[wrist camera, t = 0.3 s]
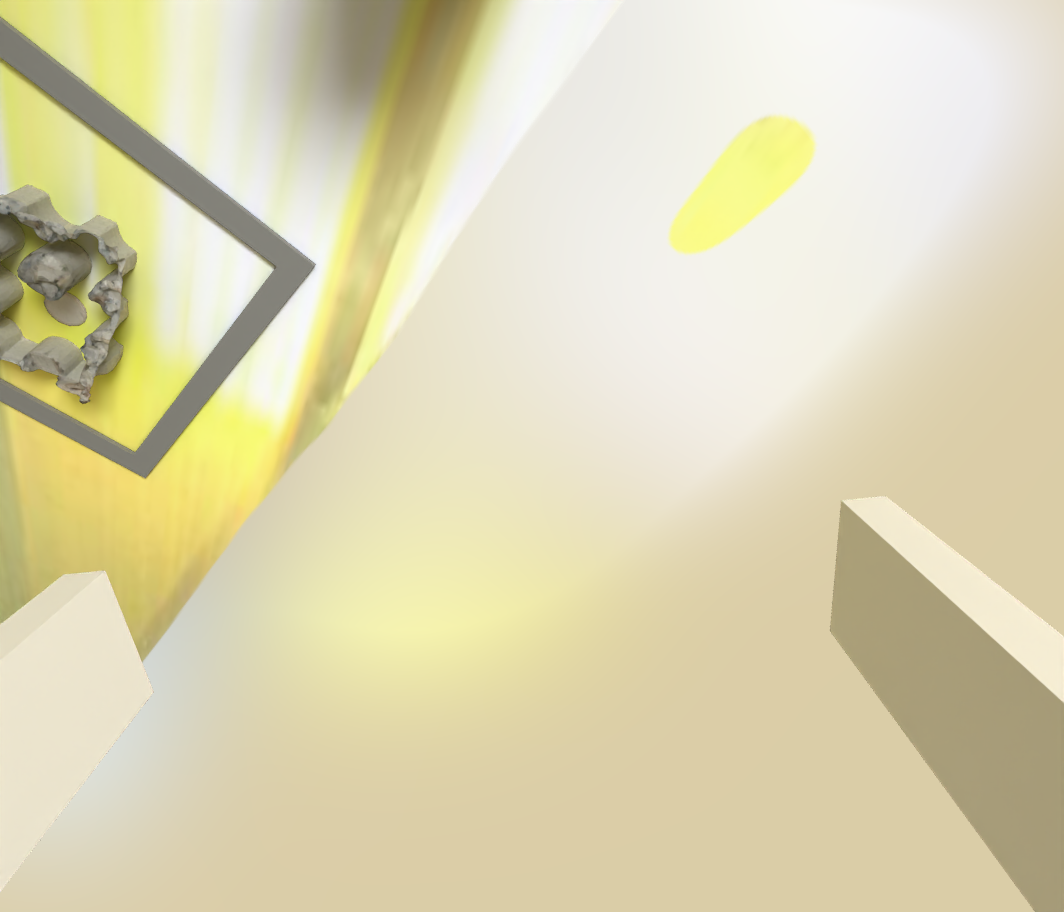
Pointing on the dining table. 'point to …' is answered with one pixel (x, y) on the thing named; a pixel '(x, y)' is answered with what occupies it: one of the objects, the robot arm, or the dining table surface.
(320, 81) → the dining table surface
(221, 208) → the mat border
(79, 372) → the egg carton
